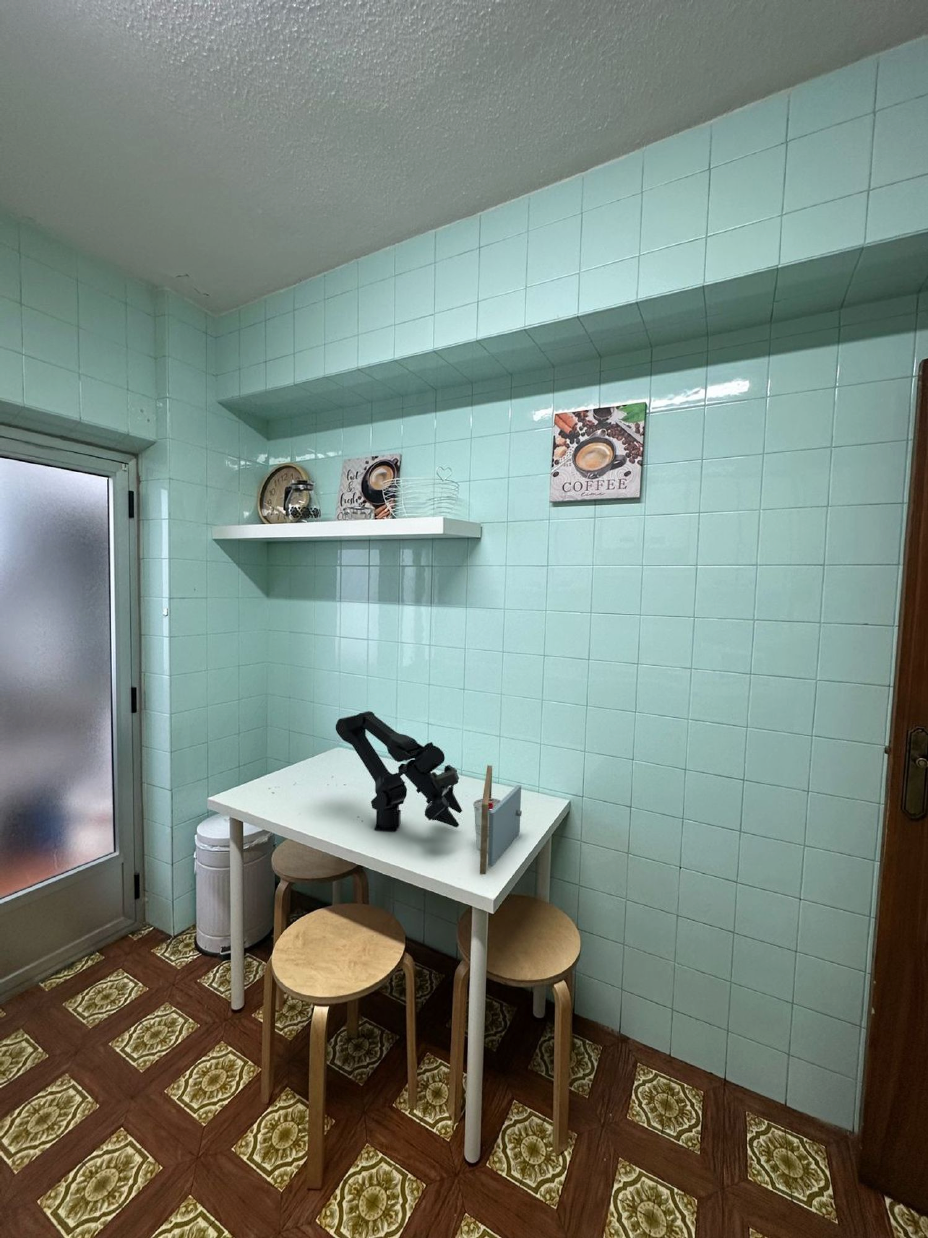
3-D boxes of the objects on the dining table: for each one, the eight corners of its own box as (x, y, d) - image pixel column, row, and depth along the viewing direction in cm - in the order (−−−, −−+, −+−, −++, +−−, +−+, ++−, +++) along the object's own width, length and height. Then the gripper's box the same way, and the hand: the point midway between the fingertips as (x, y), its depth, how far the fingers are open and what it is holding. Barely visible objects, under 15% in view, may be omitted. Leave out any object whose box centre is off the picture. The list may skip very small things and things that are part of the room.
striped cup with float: (480, 836, 148) (479, 795, 148) (508, 840, 145) (507, 799, 145) (469, 852, 139) (468, 808, 139) (498, 856, 136) (497, 812, 136)
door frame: (479, 874, 128) (481, 804, 127) (485, 822, 157) (487, 765, 156) (485, 874, 128) (487, 804, 127) (490, 822, 157) (492, 765, 156)
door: (487, 864, 132) (489, 812, 131) (515, 831, 151) (517, 785, 151) (496, 867, 131) (497, 814, 130) (523, 832, 150) (525, 786, 150)
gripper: (438, 771, 135) (478, 815, 134) (446, 750, 153) (481, 788, 153) (408, 798, 136) (447, 841, 136) (420, 773, 155) (455, 811, 154)
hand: (459, 819), depth 145 cm, fingers open, 9 cm apart
